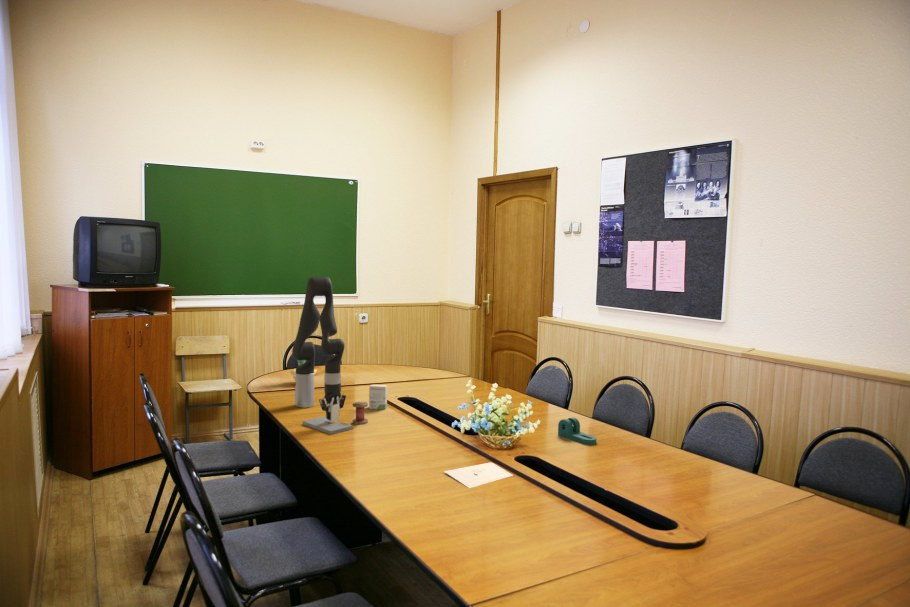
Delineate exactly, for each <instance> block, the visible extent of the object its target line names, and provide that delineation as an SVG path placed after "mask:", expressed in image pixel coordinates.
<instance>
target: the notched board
mask: <svg viewBox="0 0 910 607" xmlns="http://www.w3.org/2000/svg"><path fill="white" fill-rule="evenodd" d="M302 425H304V426H306V427H309V428H312V429H315V430H317V431H321V432H324V433H326V434H328V435H334V434H338V433H342V432H346V431H350V430H353V429H354V425H352V424H349V423H345V422H343V421H342V422H340V421H339V422H335V423H331V422H328V421H327V418H326V415H325V416H319V417H315V418H311V419H305V420H302Z"/></svg>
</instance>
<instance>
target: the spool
mask: <svg viewBox="0 0 910 607" xmlns="http://www.w3.org/2000/svg"><path fill="white" fill-rule="evenodd" d="M352 407H353V408H355V418H354V419H352V424H353V425H365V424H368V422H369V421H368V418H365V408H367V407H369V403H368V402H367V401H356V402H355V401H354V402H353V403H352Z"/></svg>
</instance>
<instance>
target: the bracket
mask: <svg viewBox="0 0 910 607" xmlns="http://www.w3.org/2000/svg"><path fill="white" fill-rule="evenodd" d="M557 426H558V427H557V435H558V436H560V437H563V438H566V439H569V440H572V441H575V442H577V443H580V444H583V445H588V446H591V445H596V444H597V441H598V440H597V439H598V438H597V436H595V435H592V434H591V435H590V434H588V433H585V432H582V431H581V424H580V421H579V419H578V418H576V417H575V416H574V417H573V416H572V417H568V418H565V419H560V420H559V421H558V425H557Z"/></svg>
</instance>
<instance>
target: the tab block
mask: <svg viewBox="0 0 910 607" xmlns="http://www.w3.org/2000/svg"><path fill="white" fill-rule="evenodd" d="M328 405H330V404H328ZM328 408H329V407H328ZM330 412H331V420H328V419H327V421H328V422H331V424H335V423H339V422H340V410H339V404H337V403H336V404H333V405H332V406H331V411H330Z"/></svg>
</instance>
